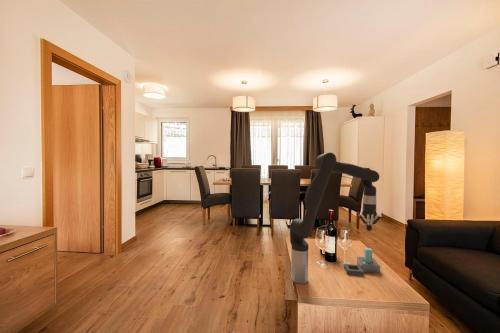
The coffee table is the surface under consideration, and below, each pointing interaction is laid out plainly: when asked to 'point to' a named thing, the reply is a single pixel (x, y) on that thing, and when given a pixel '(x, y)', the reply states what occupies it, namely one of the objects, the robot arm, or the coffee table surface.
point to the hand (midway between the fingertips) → (368, 230)
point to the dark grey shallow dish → (353, 269)
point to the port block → (368, 265)
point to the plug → (368, 255)
